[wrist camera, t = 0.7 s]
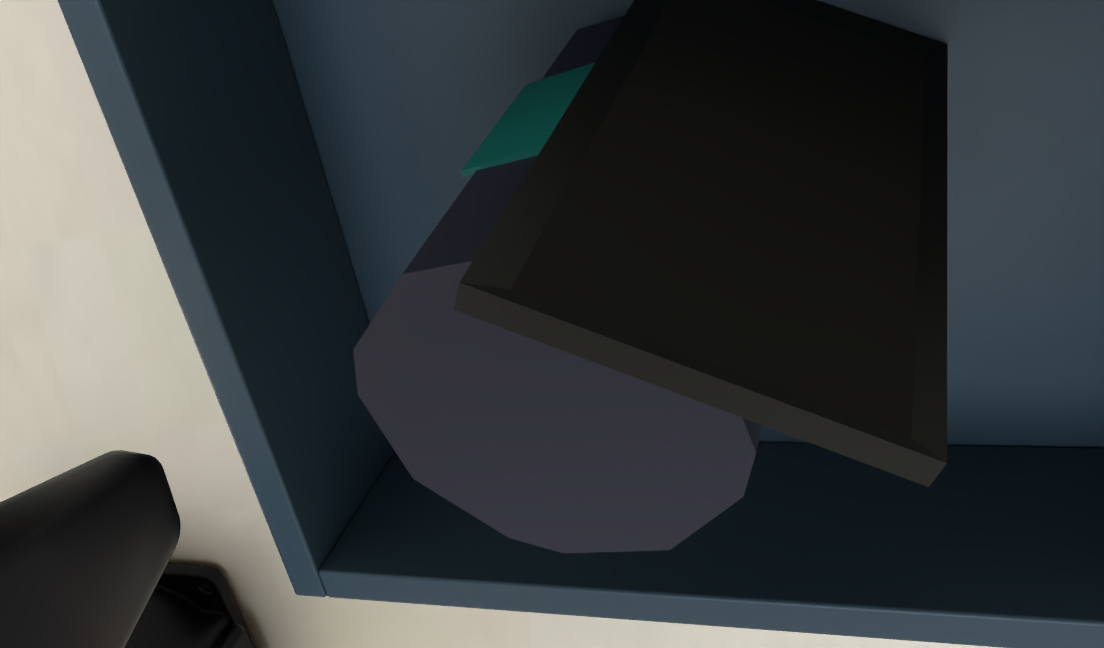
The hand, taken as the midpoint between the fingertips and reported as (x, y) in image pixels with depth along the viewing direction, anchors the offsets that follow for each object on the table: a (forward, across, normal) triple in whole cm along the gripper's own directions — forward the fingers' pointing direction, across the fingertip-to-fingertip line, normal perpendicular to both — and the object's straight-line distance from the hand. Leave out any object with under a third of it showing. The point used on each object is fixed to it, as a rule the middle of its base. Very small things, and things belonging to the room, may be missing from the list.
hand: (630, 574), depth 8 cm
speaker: (+13, +1, +2) cm, 13 cm away
